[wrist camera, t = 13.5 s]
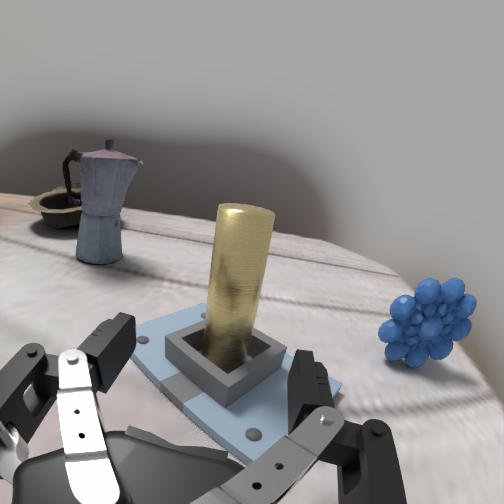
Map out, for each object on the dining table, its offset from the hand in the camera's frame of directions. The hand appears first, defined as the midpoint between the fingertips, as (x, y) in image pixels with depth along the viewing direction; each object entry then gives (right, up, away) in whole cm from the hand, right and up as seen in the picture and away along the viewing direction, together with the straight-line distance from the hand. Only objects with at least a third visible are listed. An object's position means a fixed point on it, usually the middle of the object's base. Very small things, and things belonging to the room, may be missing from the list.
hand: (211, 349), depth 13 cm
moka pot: (-25, +4, +31) cm, 40 cm away
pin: (-1, -5, +11) cm, 13 cm away
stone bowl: (-42, +12, +46) cm, 64 cm away
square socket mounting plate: (-1, -7, +12) cm, 13 cm away
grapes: (+21, -9, +16) cm, 28 cm away
